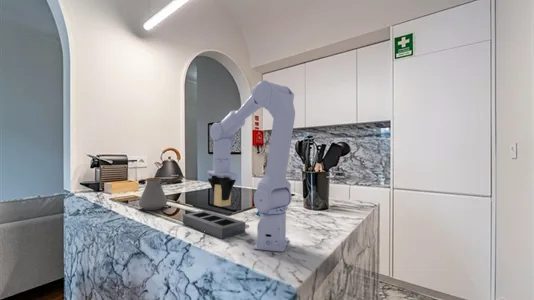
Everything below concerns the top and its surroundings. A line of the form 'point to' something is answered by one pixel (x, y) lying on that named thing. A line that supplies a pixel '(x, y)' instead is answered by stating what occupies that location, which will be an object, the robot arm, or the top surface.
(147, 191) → the coffee pot
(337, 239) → the top surface
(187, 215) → the grey compartment tray
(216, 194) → the tan rectangular block
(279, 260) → the top surface
